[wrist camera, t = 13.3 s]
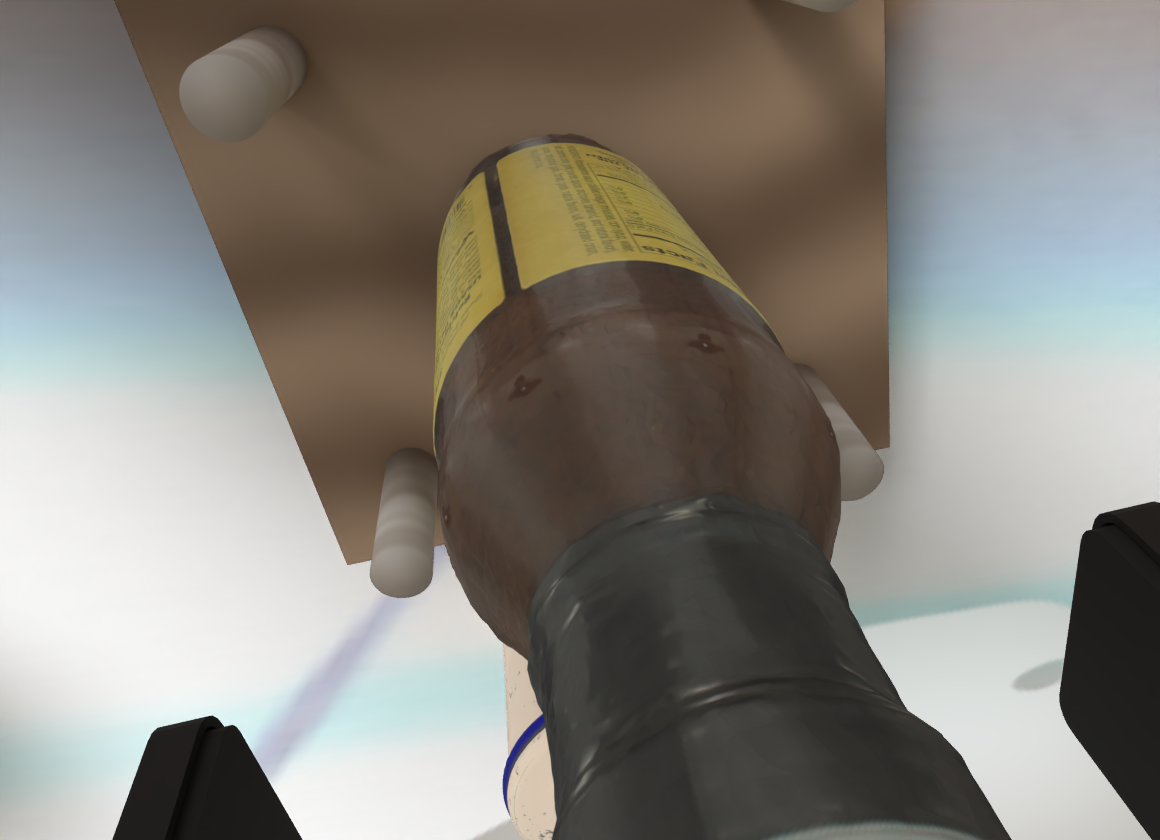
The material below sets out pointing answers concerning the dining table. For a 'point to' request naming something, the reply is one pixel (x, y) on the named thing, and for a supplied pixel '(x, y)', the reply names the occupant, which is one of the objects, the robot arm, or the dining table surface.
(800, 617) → the sauce bottle
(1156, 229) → the dining table surface
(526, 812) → the teacup with lid
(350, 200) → the peg shelf
